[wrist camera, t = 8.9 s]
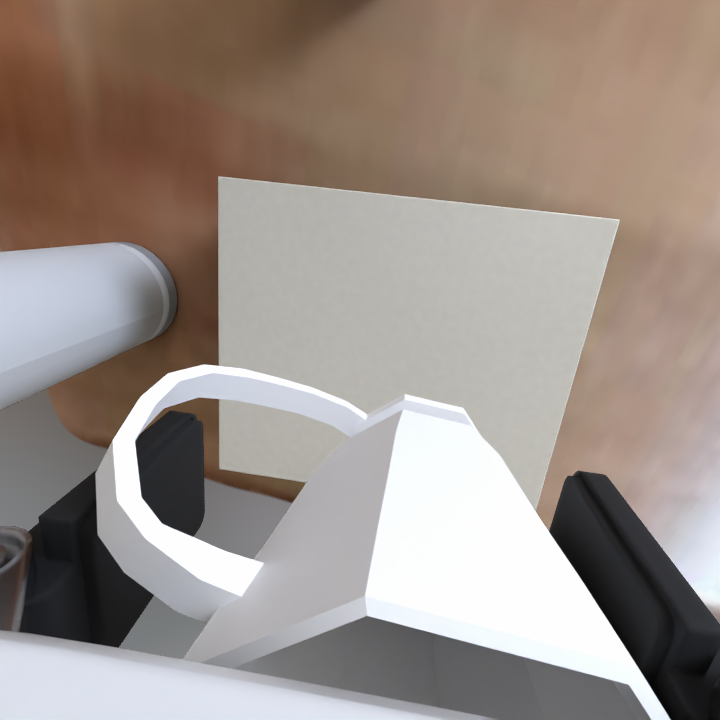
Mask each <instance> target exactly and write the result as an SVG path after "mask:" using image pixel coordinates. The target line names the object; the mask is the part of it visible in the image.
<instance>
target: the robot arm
mask: <svg viewBox="0 0 720 720" xmlns="http://www.w3.org/2000/svg"><path fill="white" fill-rule="evenodd" d="M135 447H136V455H137V464H138V472H139V481H140V489H141V497H142V499H143V500H144V501H145V502H146V504H147V505H148V506H149V508H150V509H151V510H152V511H153V513H154V514H155V515H156V517H157V518H158V519H159V520H160V522H161V523H162V524H164V525H166V526H168V527H171V528H173V529H175V530H178V531H180V532H182V533H185V534H187V535H189V536H191V537H194V535H195V534H196V532H197V531H198V529H199V528H200V526H201V524H202V521H203V518H204V511H205V509H204V508H205V505H204V504H205V503H204V445H203V424H202V422H201V421H198V420H197V418H196V415H194V414H191V413H184V412H177V411H169V412H168V413H166V414H165V415H164V416H163V417H161V418H160V419H159V420H158V421H156V422H155V423H154V424H153V425H151V426H150V427H149V428H148V429H147V430H145V431H144V432H143V433H142V434H140V435H139V436H138V438H137V439H136V441H135ZM97 470H98V469H97ZM97 470H96V471H97ZM96 471H95V472H93V473H92V474H91V475H90V476H88V477H87V478H86V479H85V480H84V481H82V482H81V483H80V484H79V485H78V486H76V487H75V488H74V489H72V490H71V491H70V492H69V493H67V494H66V495H65V496H64V497H62V498H61V499H60V500H59V501H58V502H56V504H54V505H53V506H51V507H50V508H49V509H48V510H46V511H45V512H44V513H43V514H42V515H40V516H39V523H38V524H37V525H36V526H34V527H33V528H32V529H31V530H30V531H28V532H27V531H26V530H25V529H22V528H19V527H16V526H0V720H500V719H495V718H490V717H485V716H480V715H475V714H470V713H465V712H459V711H454V710H449V709H444V708H439V707H434V706H428V705H423V704H418V703H413V702H407V701H402V700H397V699H392V698H386V697H381V696H376V695H371V694H365V693H360V692H355V691H350V690H344V689H339V688H334V687H328V686H323V685H318V684H312V683H307V682H302V681H296V680H291V679H286V678H280V677H275V676H270V675H265V674H259V673H254V672H248V671H243V670H237V669H232V668H226V667H221V666H215V665H210V664H204V663H199V662H193V661H188V660H183V659H177V658H171V657H166V656H161V655H155V654H150V653H144V652H139V651H133V650H128V649H122V648H119V646H120V645H121V643H122V642H123V640H124V639H125V637H126V636H127V634H128V633H129V631H130V630H131V628H132V627H133V625H134V624H135V622H136V621H137V619H138V618H139V617H140V615H141V614H142V612H143V611H144V609H145V608H146V606H147V605H148V603H149V602H150V600H151V599H152V597H153V596H154V595H153V594H152V593H151V592H149V591H148V590H147V589H145V588H144V587H143V586H141V585H140V584H139V583H137V582H136V581H135V580H133V579H132V578H131V577H129V576H128V575H127V574H125V573H124V572H123V570H122V569H121V567H120V566H119V565H118V563H117V562H116V560H115V559H114V557H113V556H112V555H111V553H110V552H109V550H108V549H107V548H106V546H105V545H104V543H103V542H102V540H101V539H100V538H99V536H98V532H97V503H96V475H95V473H96ZM549 533H550V534H551V536H552V537H553V539H554V540H555V541H556V543H557V544H558V546H559V547H560V549H561V550H562V552H563V553H564V555H565V556H566V558H567V559H568V561H569V562H570V564H571V565H572V566H573V568H574V569H575V571H576V572H577V574H578V575H579V577H580V578H581V580H582V581H583V583H584V584H585V586H586V588H587V589H588V591H589V592H590V594H591V595H592V597H593V598H594V600H595V601H596V603H597V605H598V606H599V608H600V609H601V611H602V612H603V614H604V615H605V617H606V618H607V620H608V622H609V623H610V625H611V626H612V628H613V629H614V631H615V632H616V634H617V635H618V637H619V639H620V640H621V642H622V643H623V645H624V646H625V648H626V649H627V651H628V652H629V654H630V656H631V657H632V659H633V660H634V662H635V663H636V665H637V666H638V668H639V670H640V671H641V673H642V674H643V676H644V678H645V679H646V681H647V682H648V684H649V686H650V687H651V689H652V690H653V692H654V694H655V695H656V697H657V698H658V700H659V702H660V703H661V705H662V706H663V708H664V710H665V711H666V713H667V715H668V716H669V718H670V719H671V720H720V624H719V623H718V621H717V620H716V619H715V617H714V616H713V615H712V614H711V612H710V611H709V610H708V608H707V607H706V606H705V604H704V603H703V602H702V600H701V599H700V598H699V596H698V595H697V594H696V593H695V591H694V590H693V589H692V587H691V586H690V585H689V583H688V582H687V581H686V579H685V578H684V577H683V575H682V574H681V573H680V572H679V570H678V569H677V568H676V566H675V565H674V564H673V562H672V561H671V560H670V558H669V557H668V556H667V554H666V553H665V552H664V551H663V549H662V548H661V547H660V545H659V544H658V543H657V541H656V540H655V539H654V537H653V536H652V535H651V533H650V532H649V531H648V530H647V528H646V527H645V526H644V524H643V523H642V522H641V520H640V519H639V518H638V516H637V515H636V514H635V512H634V511H633V510H632V509H631V507H630V506H629V505H628V503H627V502H626V501H625V499H624V498H623V497H622V495H621V494H620V493H619V491H618V490H617V489H616V488H615V486H614V485H613V484H612V482H611V481H610V480H609V478H608V477H607V476H606V475H603V474H596V473H590V472H583V471H577V472H576V473H575V474H574V475H573V476H568V477H567V478H566V479H565V482H564V485H563V488H562V491H561V495H560V498H559V501H558V504H557V508H556V511H555V514H554V518H553V521H552V524H551V527H550V531H549Z"/></svg>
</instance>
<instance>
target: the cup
mask: <svg viewBox="0 0 720 720" xmlns="http://www.w3.org/2000/svg"><path fill="white" fill-rule="evenodd" d="M198 397H201V398H213V399H225V400H237V401H242V402H247V403H252V404H257V405H262V406H267V407H272V408H276V409H280V410H285V411H289V412H294V413H298V414H301V415H304V416H307V417H310V418H312V419H315V420H318V421H321V422H323V423H326V424H329V425H332V426H334V427H335V428H337V429H338V430H340V431H341V432H343V433H344V434H346V435H347V436H349V437H350V438H348V439H347V440H346V441H345V442H344V443H343V444H342V445H341V446H340V447H339V448H338V449H337V450H336V451H335V452H334V453H333V454H332V455H331V456H330V457H329V458H328V459H327V460H326V461H325V462H324V463H323V464H322V465H321V466H320V467H319V468H318V469H317V470H316V471H315V472H314V473H313V474H312V475H311V477H310V478H309V480H308V481H307V483H306V484H305V485H304V487H303V488H302V490H301V491H300V493H299V494H298V496H297V497H296V499H295V500H294V502H293V503H292V505H291V506H290V508H289V509H288V510H287V512H286V514H285V515H284V516H283V518H282V519H281V521H280V522H279V524H278V525H277V527H276V528H275V530H274V531H273V532H272V534H271V535H270V537H269V538H268V540H267V541H266V543H265V544H264V545H263V547H262V548H261V549H260V551H259V552H258V554H257V555H256V556H255V558H254V559H253V560H252V559H249V558H246V557H243V556H239V555H236V554H233V553H230V552H226V551H224V550H222V549H219V548H217V547H214V546H212V545H210V544H208V543H205V542H203V541H201V540H198V539H196V538H194V537H191V536H189V535H187V534H185V533H182V532H180V531H178V530H175V529H173V528H171V527H168V526H166V525H164V524H162V523H161V522H160V520H159V519H158V518H157V517H156V515H155V514H154V513H153V511H152V510H151V509H150V508H149V506H148V505H147V504H146V502H145V501H144V500H143V499H142V497H141V489H140V481H139V472H138V464H137V455H136V447H135V441H136V439H137V438H138V436H139V434H140V433H141V432H142V431H143V430H144V429H145V428H146V427H147V426H148V425H149V423H150V422H151V421H152V420H153V419H154V418H155V417H156V416H157V415H158V414H159V413H160V412H161V411H162V410H163V409H164V408H167V407H170V406H173V405H176V404H179V403H182V402H185V401H189V400H192V399H195V398H198ZM95 475H96V503H97V532H98V536H99V538H100V539H101V540H102V542H103V543H104V545H105V546H106V548H107V549H108V550H109V552H110V553H111V555H112V556H113V557H114V559H115V560H116V562H117V563H118V565H119V566H120V567H121V569H122V570H123V572H124V573H125V574H127V575H128V576H129V577H131V578H132V579H133V580H135V581H136V582H137V583H139V584H140V585H141V586H143V587H144V588H145V589H147V590H148V591H149V592H151V593H152V594H153V595H155V596H156V597H157V598H159V599H160V600H161V601H163V602H164V603H165V604H167V605H168V606H169V607H171V608H172V609H173V610H175V611H176V612H178V613H181V614H184V615H186V616H189V617H191V618H194V619H196V620H199V621H201V622H204V623H207V625H206V626H205V628H204V629H203V631H202V632H201V633H200V635H199V636H198V638H197V639H196V641H195V642H194V643H193V645H192V646H191V648H190V649H189V651H188V652H187V654H186V655H185V656H184V658H183V660H188V661H193V662H199V663H204V664H210V665H215V666H221V667H226V668H232V669H237V670H243V671H248V672H254V673H259V674H265V675H270V676H275V677H280V678H286V679H291V680H296V681H302V682H307V683H312V684H318V685H323V686H328V687H334V688H339V689H344V690H350V691H355V692H360V693H365V694H371V695H376V696H381V697H386V698H392V699H397V700H402V701H407V702H413V703H418V704H423V705H428V706H434V707H439V708H444V709H449V710H454V711H459V712H465V713H470V714H475V715H480V716H485V717H490V718H495V719H500V720H671V719H670V718H669V716H668V715H667V713H666V711H665V710H664V708H663V706H662V705H661V703H660V702H659V700H658V698H657V697H656V695H655V694H654V692H653V690H652V689H651V687H650V686H649V684H648V682H647V681H646V679H645V678H644V676H643V674H642V673H641V671H640V670H639V668H638V666H637V665H636V663H635V662H634V660H633V659H632V657H631V656H630V654H629V652H628V651H627V649H626V648H625V646H624V645H623V643H622V642H621V640H620V639H619V637H618V635H617V634H616V632H615V631H614V629H613V628H612V626H611V625H610V623H609V622H608V620H607V618H606V617H605V615H604V614H603V612H602V611H601V609H600V608H599V606H598V605H597V603H596V601H595V600H594V598H593V597H592V595H591V594H590V592H589V591H588V589H587V588H586V586H585V584H584V583H583V581H582V580H581V578H580V577H579V575H578V574H577V572H576V571H575V569H574V568H573V566H572V565H571V564H570V562H569V561H568V559H567V558H566V556H565V555H564V553H563V552H562V550H561V549H560V547H559V546H558V544H557V543H556V541H555V540H554V539H553V537H552V536H551V534H550V533H549V531H548V530H547V528H546V527H545V525H544V524H543V522H542V521H541V519H540V518H539V516H538V515H537V513H536V511H535V510H534V508H533V507H532V505H531V504H530V502H529V500H528V499H527V497H526V496H525V494H524V493H523V491H522V489H521V488H520V486H519V485H518V483H517V481H516V480H515V478H514V477H513V475H512V474H511V472H510V470H509V469H508V467H507V466H506V464H505V462H504V461H503V459H502V458H501V456H500V455H499V454H498V453H497V452H496V451H495V450H494V449H493V448H492V447H491V446H490V445H489V444H488V443H487V442H486V441H485V439H484V438H483V437H482V436H481V435H480V434H479V432H478V430H477V429H476V427H475V426H474V424H473V423H472V421H471V419H470V418H469V416H468V415H467V413H466V411H465V410H464V408H461V407H457V406H453V405H449V404H444V403H440V402H436V401H432V400H428V399H423V398H419V397H415V396H411V395H407V394H404V395H402V396H400V397H399V398H397V399H395V400H393V401H391V402H389V403H387V404H386V405H384V406H382V407H380V408H378V409H376V410H375V411H373V412H371V413H369V414H366V413H364V412H363V411H361V410H359V409H358V408H356V407H355V406H353V405H352V404H350V403H349V402H347V401H345V400H342V399H340V398H337V397H335V396H332V395H330V394H327V393H325V392H322V391H320V390H317V389H315V388H312V387H309V386H306V385H302V384H299V383H295V382H292V381H288V380H285V379H281V378H278V377H274V376H270V375H266V374H262V373H258V372H254V371H250V370H246V369H241V368H232V367H223V366H213V365H200V366H196V367H192V368H188V369H184V370H179V371H175V372H171V373H168V374H166V375H165V376H164V377H163V378H162V379H161V380H159V381H158V382H157V383H156V384H155V385H154V386H152V387H151V388H150V389H149V390H148V391H147V392H145V393H144V394H143V395H142V396H141V397H140V398H139V400H138V401H137V403H136V404H135V406H134V407H133V409H132V411H131V412H130V414H129V415H128V417H127V419H126V420H125V422H124V423H123V425H122V426H121V428H120V430H119V431H118V433H117V434H116V436H115V437H114V439H113V441H112V443H111V444H110V446H109V448H108V450H107V452H106V454H105V456H104V458H103V460H102V462H101V464H100V466H99V468H98V470H97V471H96V473H95Z"/></svg>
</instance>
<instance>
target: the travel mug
mask: <svg viewBox="0 0 720 720" xmlns="http://www.w3.org/2000/svg"><path fill="white" fill-rule="evenodd" d="M176 309H177V293H176V287H175V284H174V282H173V279H172V276H171V275H170V273H169V271H168V270H167V268H166V266H165V265H164V264H163V263H162V262H161V261H160V259H159V258H157V257H156V256H155V255H154V254H153V253H152V252H150V251H148V250H147V249H145V248H143V247H141V246H139V245H136V244H133V243H128V242H112V243H101V244H89V245H77V246H65V247H54V248H42V249H30V250H19V251H7V252H0V410H3V409H5V408H7V407H9V406H11V405H13V404H15V403H18V402H19V401H22V400H24V399H26V398H28V397H30V396H32V395H34V394H36V393H38V392H41V391H43V390H45V389H47V388H49V387H51V386H53V385H56V384H58V383H60V382H62V381H64V380H66V379H68V378H70V377H72V376H75V375H77V374H79V373H81V372H83V371H85V370H87V369H89V368H91V367H94V366H96V365H98V364H100V363H102V362H104V361H106V360H108V359H111V358H113V357H115V356H117V355H119V354H121V353H123V352H125V351H127V350H130V349H132V348H134V347H136V346H138V345H140V344H142V343H144V342H146V341H149V340H151V339H153V338H155V337H157V336H159V335H161V334H162V333H163V332H164V331H165V330H167V328H168V327H169V326H170V324H171V323H172V321H173V319H174V317H175V314H176Z"/></svg>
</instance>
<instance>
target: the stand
mask: <svg viewBox="0 0 720 720" xmlns="http://www.w3.org/2000/svg"><path fill="white" fill-rule="evenodd" d="M618 224H619V220H618V219H609V218H600V217H591V216H582V215H572V214H563V213H554V212H544V211H535V210H526V209H517V208H507V207H498V206H489V205H480V204H470V203H461V202H452V201H442V200H433V199H424V198H415V197H405V196H396V195H387V194H378V193H368V192H359V191H350V190H340V189H331V188H322V187H313V186H303V185H294V184H285V183H276V182H266V181H257V180H248V179H238V178H229V177H220V176H219V177H218V299H219V366H223V367H232V368H241V369H246V370H250V371H254V372H258V373H262V374H266V375H270V376H274V377H278V378H281V379H285V380H288V381H292V382H295V383H299V384H302V385H306V386H309V387H312V388H315V389H317V390H320V391H322V392H325V393H327V394H330V395H332V396H335V397H337V398H340V399H342V400H345V401H347V402H349V403H350V404H352V405H353V406H355V407H356V408H358V409H359V410H361V411H363V412H364V413H366V414H369V413H371V412H373V411H375V410H376V409H378V408H380V407H382V406H384V405H386V404H387V403H389V402H391V401H393V400H395V399H397V398H399V397H400V396H402V395H404V394H407V395H411V396H415V397H419V398H423V399H428V400H432V401H436V402H440V403H444V404H449V405H453V406H457V407H461V408H464V410H465V411H466V413H467V415H468V416H469V418H470V419H471V421H472V423H473V424H474V426H475V427H476V429H477V430H478V432H479V434H480V435H481V436H482V437H483V438H484V439H485V441H486V442H487V443H488V444H489V445H490V446H491V447H492V448H493V449H494V450H495V451H496V452H497V453H498V454H499V455H500V456H501V458H502V459H503V461H504V462H505V464H506V466H507V467H508V469H509V470H510V472H511V474H512V475H513V477H514V478H515V480H516V481H517V483H518V485H519V486H520V488H521V489H522V491H523V493H524V494H525V496H526V497H527V499H528V500H529V502H530V504H531V505H532V507H533V508H534V510H535V511H536V508H537V504H538V501H539V497H540V494H541V490H542V487H543V483H544V480H545V476H546V473H547V470H548V466H549V463H550V459H551V456H552V452H553V449H554V445H555V442H556V438H557V435H558V432H559V428H560V425H561V421H562V418H563V414H564V411H565V407H566V404H567V400H568V397H569V393H570V390H571V387H572V383H573V380H574V376H575V373H576V369H577V366H578V362H579V359H580V355H581V352H582V349H583V345H584V342H585V338H586V335H587V331H588V328H589V324H590V321H591V317H592V314H593V311H594V307H595V304H596V300H597V297H598V293H599V290H600V286H601V283H602V279H603V276H604V272H605V269H606V266H607V262H608V259H609V255H610V252H611V248H612V245H613V241H614V238H615V234H616V231H617V228H618ZM348 438H350V437H349V436H347V435H346V434H344V433H343V432H341V431H340V430H338V429H337V428H335V427H334V426H332V425H329V424H326V423H323V422H321V421H318V420H315V419H312V418H310V417H307V416H304V415H301V414H298V413H294V412H289V411H285V410H280V409H276V408H272V407H267V406H262V405H257V404H252V403H247V402H242V401H237V400H225V399H219V469H222V470H228V471H235V472H241V473H247V474H254V475H260V476H266V477H273V478H279V479H286V480H292V481H298V482H305V483H307V481H308V480H309V478H310V477H311V475H312V474H313V473H314V472H315V471H316V470H317V469H318V468H319V467H320V466H321V465H322V464H323V463H324V462H325V461H326V460H327V459H328V458H329V457H330V456H331V455H332V454H333V453H334V452H335V451H336V450H337V449H338V448H339V447H340V446H341V445H342V444H343V443H344V442H345V441H346V440H347V439H348Z"/></svg>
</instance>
